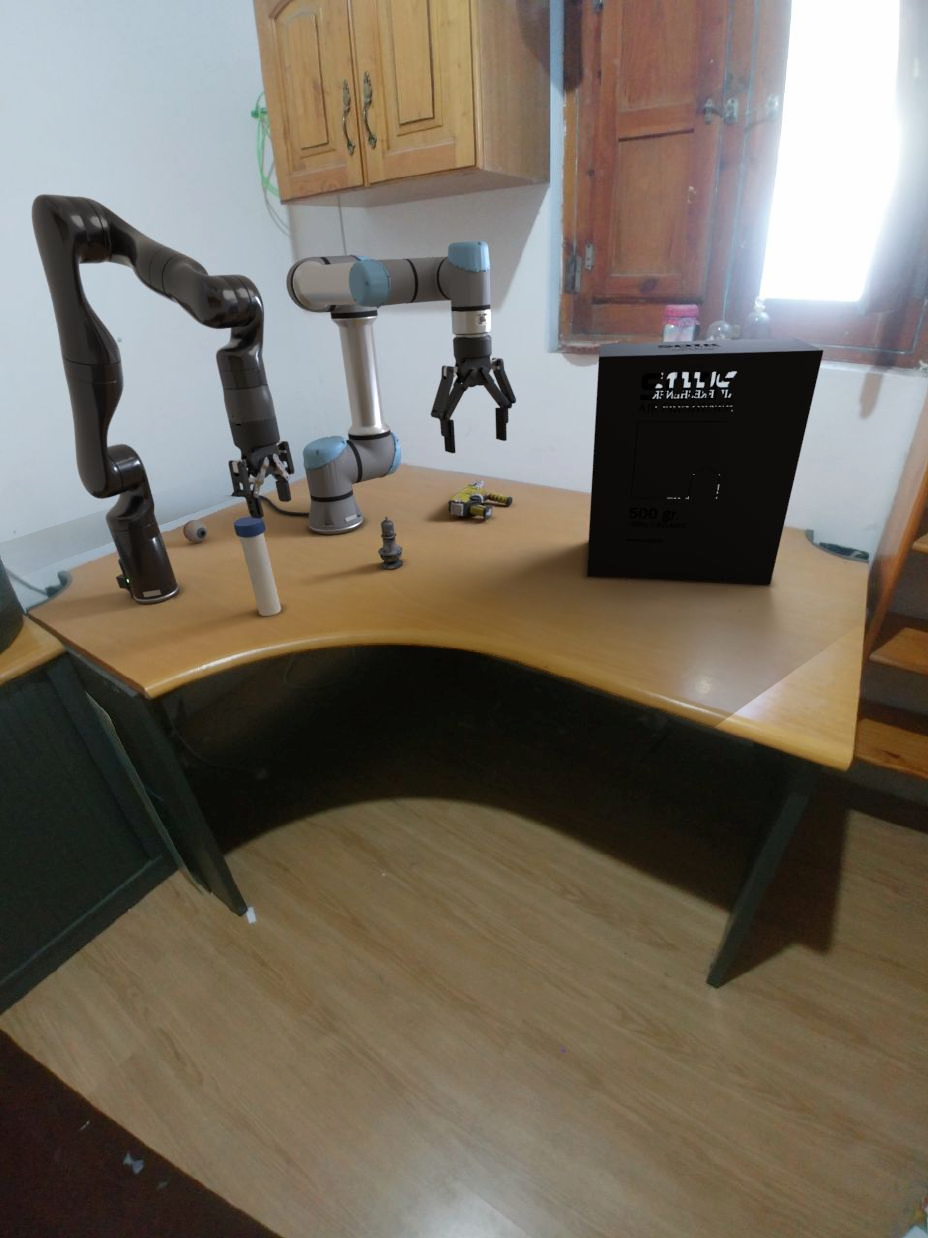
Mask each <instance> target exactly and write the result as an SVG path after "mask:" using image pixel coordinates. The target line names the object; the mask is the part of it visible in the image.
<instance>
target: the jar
mask: <svg viewBox="0 0 928 1238" xmlns="http://www.w3.org/2000/svg"><path fill="white" fill-rule="evenodd" d="M264 533H265V532H263V533H262V534H260V535H257V536H253V537H239V539H240V543H241V547H242V551H243V555H244V559H245V563H246V566H247V570H248V576H249V579H250V582H251V586H252V590H253V594H254V599H255V602H256V607H257V609H258V614H259V615H260V616H263V617H270V616H271V617H272V616H274V615H277V614H279V613H280V612H281V611H282V606H281V602H280V598H279V595H278V594H279V593H278V590H277V585H276V581H275V577H274V572H273V568H272V564H271V560H270V559H271V558H270V554H269V551H268V546H267V542H266V539H265V534H264Z"/></svg>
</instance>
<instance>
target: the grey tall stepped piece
mask: <svg viewBox="0 0 928 1238" xmlns="http://www.w3.org/2000/svg"><path fill="white" fill-rule="evenodd" d="M380 527H381V535H380V538H382V546H381V547H380V548H379V549H378V550H377V554H379V557H380V559H381V560H383V561H382V562H381V563H380V566H381V568H383V569H387V570H391V569H397V568H400V567H402V566H403V565H404V561H403V560H402V559H401V557H402V555H403V551H404V549H403V547H402V546H400V545H398V544H397V541H396V540H397V539H396V536H397V533H396V532H395V525H394V521H393V520H391V519H389V517H388V516H385V517H384V520H382V521H381V523H380Z"/></svg>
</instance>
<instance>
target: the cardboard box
mask: <svg viewBox="0 0 928 1238" xmlns="http://www.w3.org/2000/svg"><path fill="white" fill-rule="evenodd" d="M598 353H599V354H598V363H597V364H598V367H597V383H596V385H597V386H596V387H597V388H596V403H595V417H594V418H595V419H594V438H593V456H592V473H591V490H590V491H591V492H590V508H589V527H588V543H587V545H588V546H587V561H586V577H587V578H608V579H609V578H610V579H628V580H629V579H630V580H631V579H632V580H633V579H634V580H653V581H654V580H655V581H676V582H677V581H678V582H697V583H698V582H700V583H723V584H744V585H745V584H746V585H765V586H767V585H768V586H771V584H772V579H773V575H774V571H775V566H776V560H777V557H778V553H779V549H780V543H781V539H782V535H783V530H784V526H785V522H786V518H787V513H788V509H789V506H790V505H789V504H790V500H791V495H792V492H793V486H794V482H795V478H796V475H797V474H796V473H797V469H798V466H799V460H800V456H801V451H802V446H803V442H804V438H805V434H806V431H807V427H808V426H807V425H808V421H809V416H810V412H811V407H812V403H813V398H814V394H815V390H816V386H817V381H818V377H819V372H820V369H821V363H822V359H823V355H824V349H822V348H819V347H817V346H815V345H812V344H811V343H808V342H805V341H802V340H800V339H798V338H795V337H777V338H776V337H775V338H772V337H771V338H746V339H745V338H743V339H739V338H738V339H713V340H709V339H708V340H683V341H682V340H681V341H679V340H678V341H651V342H649V341H648V342H647V341H646V342H621V343H619V342H618V343H600V344H599V352H598ZM732 372H733V373H734V372H735V373H734V375H733V376H732V377H727V376H728V375H729V373H732ZM674 373H676V377H675V378H673V384H672V387H670V384H671V378H670V377H669V376H670V374H674ZM683 373H688V376H687V383H690V384H689V387H685V382H686V381H685V378H684V377H683ZM696 373H699V378H698V377H696ZM713 373H715V376H714V382H713V383H712V379H713ZM668 377H669V378H668ZM717 381H718V383H719V384H721V383H728V384H727V386H719V385H718V383H717ZM698 382H699V383H700V384H701V383H702V384H703V387H701V386H700V387H699V386H698ZM657 385H660V386H661V387H657ZM697 386H698V387H697Z"/></svg>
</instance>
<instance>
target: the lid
mask: <svg viewBox="0 0 928 1238" xmlns="http://www.w3.org/2000/svg"><path fill="white" fill-rule="evenodd" d="M233 527H234V531H235V535H236V536H237V537H239V538H240V537H253V536H257V535H260V534H262V533H265V531H266V526H265V522H264V519H263V517H262V518H261V519H258V518H252V517H251V516H245V517H241V518H238V519H236V520H235V521H234V522H233Z"/></svg>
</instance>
